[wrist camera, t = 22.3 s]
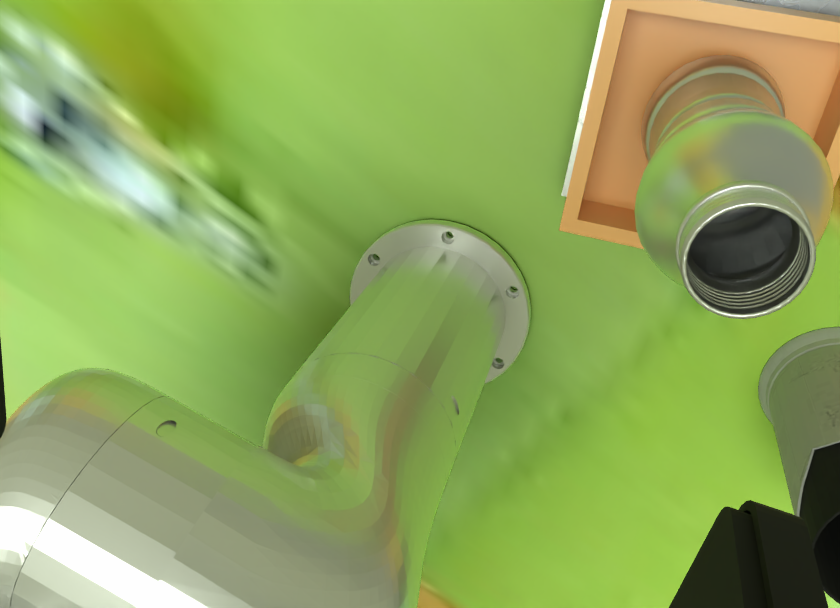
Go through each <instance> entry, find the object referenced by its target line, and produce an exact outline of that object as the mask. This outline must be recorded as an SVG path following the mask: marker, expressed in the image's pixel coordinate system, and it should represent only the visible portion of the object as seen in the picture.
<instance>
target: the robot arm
mask: <svg viewBox="0 0 840 608" xmlns="http://www.w3.org/2000/svg"><path fill="white" fill-rule="evenodd" d="M448 231H449V232H451V233H452V234H453V235H454V236H449V235H448ZM375 254H376V255H378V256H379V258H377V257H376V256H375ZM511 286H514V287H516V288H517V290H513V289H512V288H511ZM349 298H350V307H349V309H348V310H347V311H346V312H345V314H344V315H343V316H342V317H341V318H340V320H339V321H338V322H337V323H336V325H335V326H334V327H333V328H332V329H331V331H330V332H329V333H328V334H327V335H326V337H325V338H324V339H323V340H322V342H321V343H320V344H319V345H318V346H317V348H316V349H315V350H314V351H313V353H312V354H311V355H310V356H309V357H308V359H307V360H306V361H305V362H304V364H303V365H302V366H301V367H300V368H299V370H298V371H297V372H296V373H295V375H294V376H293V377H292V378H291V380H290V381H289V382H288V383H287V385H286V386H285V387H284V388H283V390H282V391H281V393H280V394H279V396H278V397H277V399H276V401H275V403H274V405H273V407H272V410H271V412H270V414H269V417H268V420H267V423H266V427H265V433H264V439H263V447H261V446H258V447H257V446H255V445H254V444H252V443H250V442H248V441H247V440H245V439H243V438H241V437H240V436H238V435H236V434H234V433H233V432H231V431H229V430H227V429H226V428H224V427H222V426H220V425H219V424H217V423H215V422H213V421H212V420H210V419H208V418H206V417H205V416H203V415H201V414H199V413H198V412H196V411H194V410H192V409H190V408H189V407H187V406H185V405H183V404H182V403H180V402H178V401H176V400H175V399H173V398H171V397H169V396H167V395H165V394H163V393H162V392H160V391H158V390H156V389H155V388H153V387H151V386H149V385H147V384H145V383H143V382H141V381H139V380H137V379H135V378H133V377H130V376H128V375H125V374H122V373H120V372H116V371H112V370H109V369H100V368H87V369H79V370H75V371H72V372H69V373H66V374H63V375H61V376H59V377H57V378H56V379H54V380H52V381H50V382H48V383H47V384H46V385H44V386H43V387H41V388H40V389H39V390H37V391H36V392H35V393H34V394H32V395H31V396H30V397H29V398H28V399H27V400H26V401H25V402H24V403H23V404H22V405H21V406H20V407H19V408H18V409H17V410H16V411H15V412H14V413H13V414H12V415H11V417H10V418H9V419H8V420H7V421H6V407H5V394H4V380H3V367H2V353H1V339H0V608H417V605H418V598H419V590H420V583H421V576H422V569H423V563H424V556H425V552H426V547H427V543H428V538H429V534H430V531H431V527H432V524H433V520H434V517H435V514H436V511H437V508H438V506H439V503H440V500H441V497H442V494H443V491H444V489H445V486H446V483H447V481H448V478H449V475H450V473H451V470H452V467H453V464H454V462H455V459H456V456H457V454H458V451H459V449H460V446H461V443H462V441H463V438H464V435H465V433H466V430H467V428H468V425H469V422H470V420H471V417H472V414H473V412H474V409H475V407H476V404H477V401H478V399H479V396H480V394H481V391H482V388H483V386H484V384H486V383H488V382H491V381H492V380H494V379H495V378H497V377H498V376H500V375H501V374H503V373H504V372H505V371H506V370H507V369H508V368H509V367H510V366H511V365H512V364H513V363H514V362H515V360H516V359H517V357H518V355H519V354H520V352H521V350H522V349H523V346H524V344H525V341H526V338H527V335H528V331H529V326H530V322H531V303H530V298H529V293H528V288H527V286H526V283H525V281H524V279H523V276H522V274H521V272H520V270H519V269H518V267H517V266H516V264H515V263H514V261H513V260H512V258H511V257H510V256H509V255H508V254H507V253H506V252H505V251H504V250H503V249H502V248H501V247H500V246H499V245H498V244H497V243H496V242H494V241H493V240H491V239H490V238H489V237H487V236H486V235H484V234H483V233H481V232H479V231H477V230H474V229H472V228H470V227H468V226H466V225H462V224H459V223H455V222H451V221H445V220H433V219H429V220H420V221H412V222H409V223H406V224H403V225H400V226H397V227H395V228H393V229H392V230H390V231H388V232H386V233H384V234H383V235H382V236H381V237H380V238H378V239H377V240H376V241H375V242H374V243H373V244H372V245H371V246H370V247H369V248H368V249H367V250H366V251H365V253H364V254H363V255H362V257H361V259H360V261H359V262H358V264H357V266H356V268H355V271H354V274H353V277H352V280H351V286H350V297H349ZM498 358H500V359H502V360H499V359H498ZM669 608H828V605H827V601H826V597H825V593H824V589H823V586H822V582H821V578H820V574H819V570H818V566H817V563H816V559H815V555H814V551H813V547H812V543H811V540H810V536H809V532H808V528H807V525H806V523H805V521H804V520H803V519H802V518H801V517H798V516H795V515H793V514H790V513H787V512H784V511H781V510H778V509H775V508H772V507H769V506H766V505H763V504H760V503H757V502H754V501H751V500H750V501H746V502H745V503H744V504H743V505H741V507H740V508H739V510H736V509H733V508H730V507H724V508H723V509H722V510H721V512H720V513H719V515H718V516H717V518H716V520H715V522H714V524H713V526H712V528H711V530H710V531H709V533H708V535H707V537H706V539H705V541H704V543H703V545H702V546H701V548H700V550H699V552H698V554H697V556H696V558H695V560H694V561H693V563H692V565H691V567H690V569H689V571H688V573H687V575H686V576H685V578H684V580H683V582H682V584H681V586H680V588H679V590H678V591H677V593H676V595H675V597H674V599H673V601H672V603H671V605H670V607H669Z"/></svg>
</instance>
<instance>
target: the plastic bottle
mask: <svg viewBox="0 0 840 608" xmlns="http://www.w3.org/2000/svg"><path fill="white" fill-rule="evenodd" d="M641 139H642V147H643V150H644V153H645V156H646V159H647V161H648V165H647V167H646V168H645V170H644V172H643V176H642V179H641V182H640V185H639V188H638V191H637V194H636V202H635V211H634V212H635V222H636V230H637V233H638V236H639V239H640V242H641V244H642V246H643V248H644V250H645V251H646V253H647V255H648V256H649V258H650V259H651V260H652V261H653V262H654V263H655V265H656V266H657V267H658V268H659V269H660V270H661V271H662V272H663V273H664V274H665V275H666V276H668V277H669V278H671V279H672V280H673V281H675V282H676V283H678V284H679V285H682V286H684V287H686V288H687V290H688V292H689V293H690V295H691V296H692V297H693V298H694V299H695V300H696V302H697V303H698V304H700V305H701V306H703V307H704V308H705V309H707V310H708V311H711V312H713V313H715V314H717V315H720V316H724V317H728V318H738V319H746V318H756V317H760V316H764V315H768V314H770V313H772V312H775V311H777V310H779V309H781V308H782V307H784V306H785V305H787V304H789V303H790V302H791V301H792V300H794V299H795V298H796V297H797V296H798V295H799V294H800V293H801V291H802V290H803V289H804V287H805V286H806V285H807V283H808V281H809V279H810V277H811V275H812V273H813V269H814V265H815V261H816V246H817V245H818V244H819V242H820V239H821V237H822V235H823V233H824V231H825V229H826V226H827V224H828V221H829V218H830V213H831V209H832V204H833V179H832V175H831V171H830V166H829V164H828V162H827V160H826V158H825V156H824V154H823V152H822V150H821V148H820V147H819V146H818V145H817V144H816V143H815V141H814V140H813V139H812V138H811V137H810V135H808V134H807V133H806V132H805V131H804V130H803V129H801V128H800V127H798V126H797V125H796V124H794V123H793V122H792V121H790V120H789V119H786V118H785V104H784V100H783V96H782V93H781V91H780V89H779V87H778V85H777V83H776V81H775V80H774V79H773V78H772V76H771V75H770V74H769V73H768V72H767V71H766V70H765V69H763V68H762V67H761V66H759V65H758V64H756V63H754V62H752V61H750V60H747V59H745V58H742V57H736V56H731V55H714V56H709V57H704V58H700V59H697V60H695V61H692V62H690V63H687V64H685V65H684V66H682V67H680V68H679V69H677V70H676V71H674V72H673V73H672V74H671V75H669V76H668V77H667V78H666V79H665V80H664V81H663V82H662V83H661V84H660V85H659V87H658V88H657V89H656V91H655V92H654V93H653V95H652V97H651V99H650V100H649V102H648V104H647V106H646V109H645V112H644V116H643V119H642V127H641Z"/></svg>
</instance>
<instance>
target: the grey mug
mask: <svg viewBox="0 0 840 608" xmlns="http://www.w3.org/2000/svg"><path fill="white" fill-rule="evenodd" d="M758 392H759V400H760V403H761V407H762V409H763V411H764V413H765V415H766V417H767V418H768V420H769V421H770V422H771V423H772V424H773V426H774V430H775V435H776V439H777V443H778V447H779V451H780V456H781V460H782V464H783V468H784V473H785V477H786V481H787V485H788V489H789V494H790V498H791V502H792V506H793V510H794V515H795V516H798V517H801V518H802V519H803V520H804V521H805V523H806V525H807V528H808V532H809V536H810V540H811V543H812V547H813V551H814V555H815V559H816V563H817V566H818V570H819V574H820V578H821V582H822V586H823V589H824V591H825V592H826V593H827V594H828V595H829V596H830V597H831V598H833V599H834V600H835V601H836V602H838V603H839V604H840V327H831V328H823V329H818V330H814V331H810V332H807V333H805V334H802V335H799V336H797V337H796V338H794V339H792V340H790V341H788V342H787V343H786V344H784V345H783V346H782V347H780V348H779V349H778V350H777V351H776V352H775V353H774V354H773V355H772V356H771V357H770V358H769V360H768V362H767V363H766V365H765V366H764V368H763V371H762V373H761V376H760V380H759V386H758Z"/></svg>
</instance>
